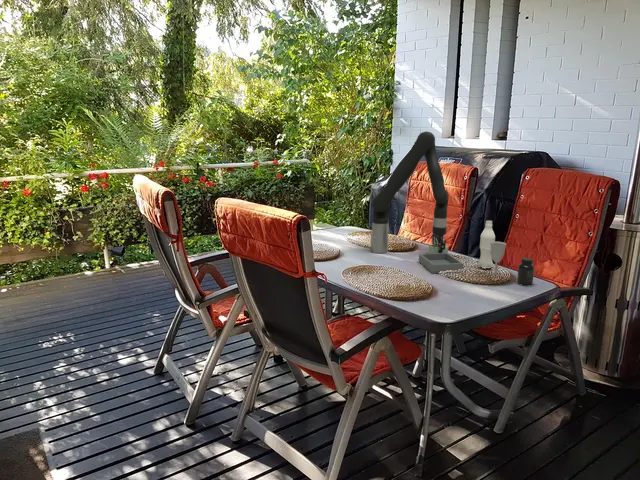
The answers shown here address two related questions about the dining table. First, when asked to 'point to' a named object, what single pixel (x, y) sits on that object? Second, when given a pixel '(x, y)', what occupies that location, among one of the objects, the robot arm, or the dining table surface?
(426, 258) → the grey tray
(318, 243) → the dining table surface
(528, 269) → the supplement bottle
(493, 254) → the chalice
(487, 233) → the water bottle
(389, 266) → the dining table surface
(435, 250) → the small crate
